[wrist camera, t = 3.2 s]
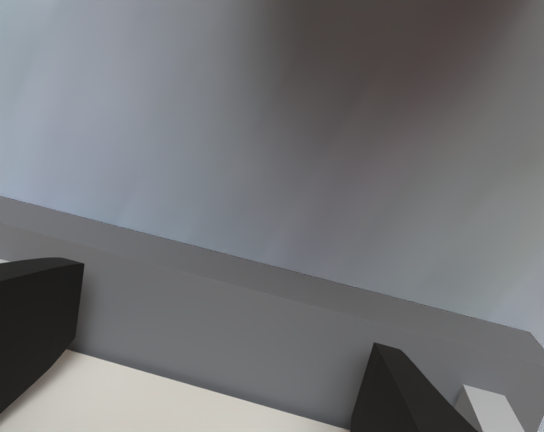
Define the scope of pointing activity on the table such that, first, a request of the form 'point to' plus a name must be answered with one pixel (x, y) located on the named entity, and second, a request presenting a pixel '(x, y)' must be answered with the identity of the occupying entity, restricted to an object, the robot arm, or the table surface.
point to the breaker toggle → (136, 404)
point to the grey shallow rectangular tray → (270, 326)
